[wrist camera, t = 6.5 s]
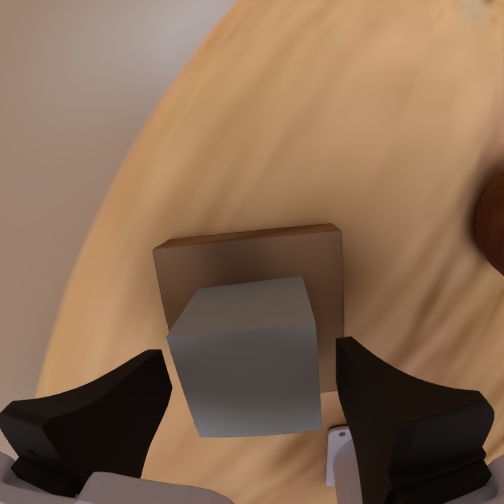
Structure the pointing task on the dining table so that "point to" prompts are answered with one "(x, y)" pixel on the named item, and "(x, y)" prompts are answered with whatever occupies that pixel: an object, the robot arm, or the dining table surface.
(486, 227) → the wooden figurine
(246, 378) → the slate cube
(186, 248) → the walnut block
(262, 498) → the dining table surface
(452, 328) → the dining table surface
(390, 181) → the dining table surface
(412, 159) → the dining table surface
